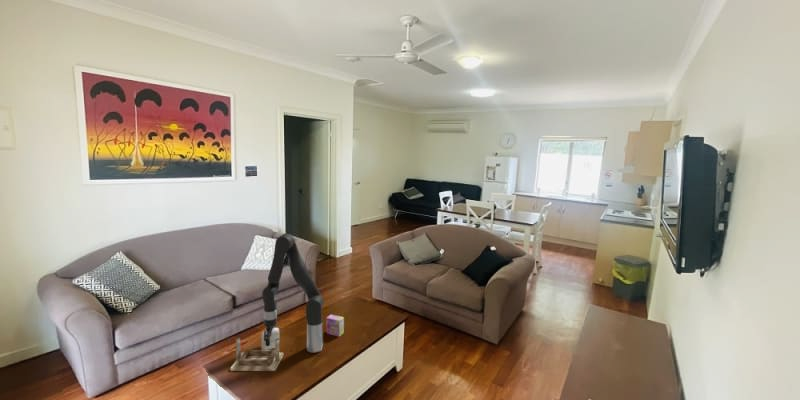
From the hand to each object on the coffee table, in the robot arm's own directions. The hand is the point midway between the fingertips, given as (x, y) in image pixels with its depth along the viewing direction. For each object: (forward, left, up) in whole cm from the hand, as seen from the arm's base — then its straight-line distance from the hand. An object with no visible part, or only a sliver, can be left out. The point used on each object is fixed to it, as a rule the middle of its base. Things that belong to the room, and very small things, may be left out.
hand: (270, 341), depth 200 cm
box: (-37, -17, -4) cm, 41 cm away
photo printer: (0, 0, -4) cm, 4 cm away
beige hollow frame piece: (+2, +15, -4) cm, 16 cm away
